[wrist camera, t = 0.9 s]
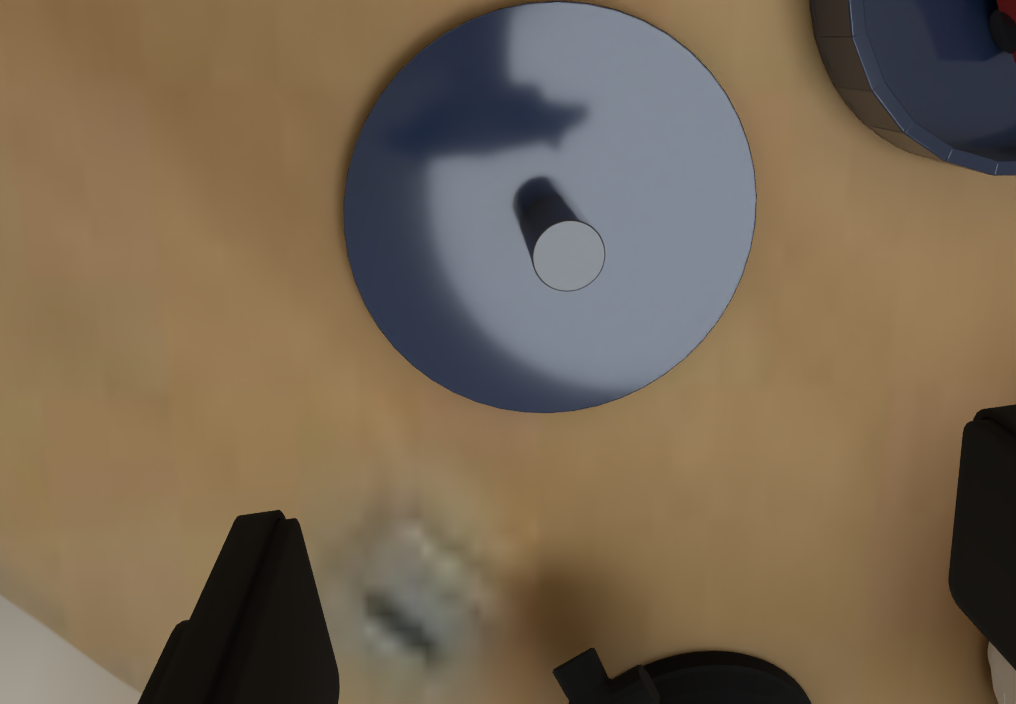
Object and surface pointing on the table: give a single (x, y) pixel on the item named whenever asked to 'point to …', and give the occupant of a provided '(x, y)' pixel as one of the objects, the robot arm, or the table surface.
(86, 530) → the table surface
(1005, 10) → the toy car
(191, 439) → the table surface
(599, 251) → the lid
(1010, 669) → the paper stack
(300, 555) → the robot arm
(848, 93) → the pot
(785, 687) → the sculpture
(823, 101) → the table surface
